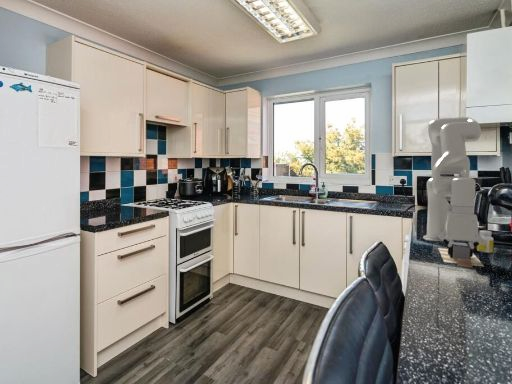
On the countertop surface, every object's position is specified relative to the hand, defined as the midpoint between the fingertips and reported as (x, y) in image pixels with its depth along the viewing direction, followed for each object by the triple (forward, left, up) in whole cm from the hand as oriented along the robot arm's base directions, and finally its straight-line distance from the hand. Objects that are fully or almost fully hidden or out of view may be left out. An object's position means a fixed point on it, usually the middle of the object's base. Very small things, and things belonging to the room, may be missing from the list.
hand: (459, 257), depth 116 cm
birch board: (-3, 0, -2) cm, 3 cm away
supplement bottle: (-17, +11, -2) cm, 20 cm away
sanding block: (0, 0, 0) cm, 0 cm away
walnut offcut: (+10, 0, -1) cm, 10 cm away
